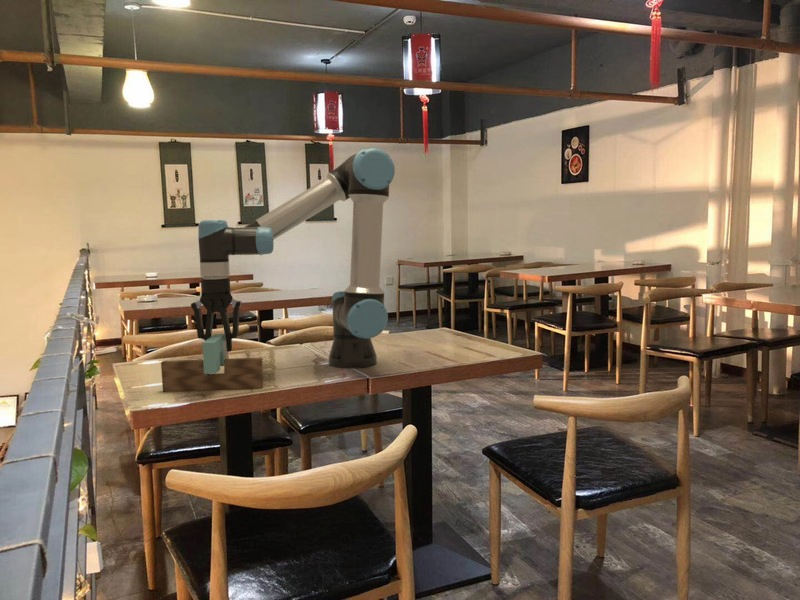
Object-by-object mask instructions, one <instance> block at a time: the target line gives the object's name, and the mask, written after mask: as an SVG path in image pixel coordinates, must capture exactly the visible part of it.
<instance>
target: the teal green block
mask: <svg viewBox="0 0 800 600" xmlns="http://www.w3.org/2000/svg"><path fill="white" fill-rule="evenodd" d="M225 339H226V338H225V333H214V334H213V335H211V337H210V338H209V339H207V340H206V341H205V340H203V342H202V345H201V346H202V360H203V365H204V374H218V372H219V371H220V370H221V367H224V350H223V340H225Z"/></svg>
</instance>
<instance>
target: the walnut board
mask: <svg viewBox="0 0 800 600" xmlns="http://www.w3.org/2000/svg"><path fill="white" fill-rule="evenodd" d="M160 368H161V382H162V384H161V385H162V386H161V387H162V393H174V392H176V393H177V392H179V393H180V392H202V391H223V390H224V391H226V390H228V391H229V390H249V389H250V390H253V389H255V390H256V389H257V390H258V389H263V388H264V370H263V369H264V367H263V357H241V358H240V357H237V358H234V357H233V358H229V359H224V366H223V371H224V373H215V374H204V365H203V359H181V360H178V359H176V360H161V362H160Z"/></svg>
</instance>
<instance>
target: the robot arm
mask: <svg viewBox="0 0 800 600" xmlns="http://www.w3.org/2000/svg"><path fill="white" fill-rule="evenodd" d="M395 168H396V167H395V164H394V161H393V159H392V157H391V156H390V155H389V154H388V153H387V152H386V151H384V150H383V149H380V148H376V147H370V148H369V147H368V148H364V149H361V150H360V151H358V152H357V153H354V154H352V155H351V156H349V157H348V158H347V159H345V160H344V161H343V162H342V163H341V164H340V165H338V166H337V167H336V168H334V169H333V170H331V171H330V172H327V174H326V178H325V179H323V180H321V181H319V182H317V183H315V184H313V186H311V187H310V188H308V189H306V190H304V191H302V192H301V193H299V194H298V195H296V196H294V197H292V198H290V199H289V200H287V201H285V202H284V203H283V204H280V205H279V206H277V207H276V208H274V209H272V210H270V211H269V212H267V213H265V214H263V215H262V216H260V217H258V218H257V219H256V220H254V221H253V222H250V223H248V224H247V225H245V226H244V227H243V226H242V227H241V226H240V227H233V226H232V227H230V226H229V225H228V222H227V220H225V219H223V220H222V219H219V220H218V219H217V220H215V219H211V220H209V219H206V220H201V221H200V222H199V223H198V227H197V228H198V229H197V230H198V234H197V235H198V251H199V252H198V253H199V266H200V268H199V269H200V271H199V272H200V277H201V278H202V279H201V280H200V287H201V288H200V290H201V291H200V293H201V296H200V297H199V300H196V301H193V302H192V303H191V304H190V306H191V309H192V311H193V313H194V321H195V328H196V335H197V338H198V339H201V340H203V341H206V340H207V339H209V338H210V337H212V336H213V335H212V333H213V323H214V315H215V313H219V316H220V318H221V323H222V327H223V331H224V333H223V334H225V338H226V339H225V340H223V350H224V359H230V356H229V354H230V352H232V350H233V342H232V341H233V339H235V338H236V337H238V336H239V331H240V329H239V328H240V325H239V324H240V309H241V306H242V304H243V302H242V301H241V300H236V299H234V298H233V296H232V293H231V279H230V278H228V277H229V276H230V274H231V273H230V256H239V255H240V256H251V255H252V256H253V255H259V256H263V255H270V254H272V253H273V252H274V243H275V242H274V240H275V239H277V238H279V237H280V236H283V235H284V234H286V233H287V232H289V231H291V230H292V229H294V228H295V227H298V226H299V225H301V224H302V223H305V221H307V220H309V219H310V218H312V217H314V216H316V215H317V214H319V213H320V212H322V211H324V210H326V209H327V208H329V207H330V206H332V205H334V204H335V203H337V202H339V201H342V202H345V201H348V200H349V199H351V200H352V202H353V204H352V229H351V230H352V232H351V252H350V254H351V256H350V257H351V258H350V276H349V277H350V278H349V279H350V280H349V281H350V282H349V285H348V286H347V288H345V290H343V291H341V290H339V291H335V292H333V294H332V296H331V297H332V298H331V299H332V300H331V305H332V327H333V341H332V344H331V348H330V352H329V355H328V365H329V366H330V367H335V368H341V369H342V368H343V369H357V368H365V367H372V366H373V365H375V364H377V362H378V360H377V359H378V358H377V353H376V349H375V347H374V345H373V341H372V339H373V338H376V337H377V336H379V335H380V334H381V333H382V332H384V331H385V329H386V327H387V325H388V321H389V319H388V318H389V314H388V311H387V308H386V306H385V291H384V290H383V289H382V287H381V286H380V282H381V281H380V279H381V261H382V259H381V258H382V256H381V255H382V238H383V235H382V234H383V217H384V216H383V213H384V203H386V201H387V200H389V199H390V185H391V183H392V181H393V179H394V178H395V173H396V171H395V170H396V169H395ZM202 306H203V307H204V308H205V310H206V323H205V328H204V322H203V315H202V309H201V308H202ZM230 306H232V308H233V310H232V311H233V312H232V330H231V326H230V325H231V324H230V322H229V321H230V320H229V317H228V316H229V315H228V307H230ZM204 329H205V330H204Z"/></svg>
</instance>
